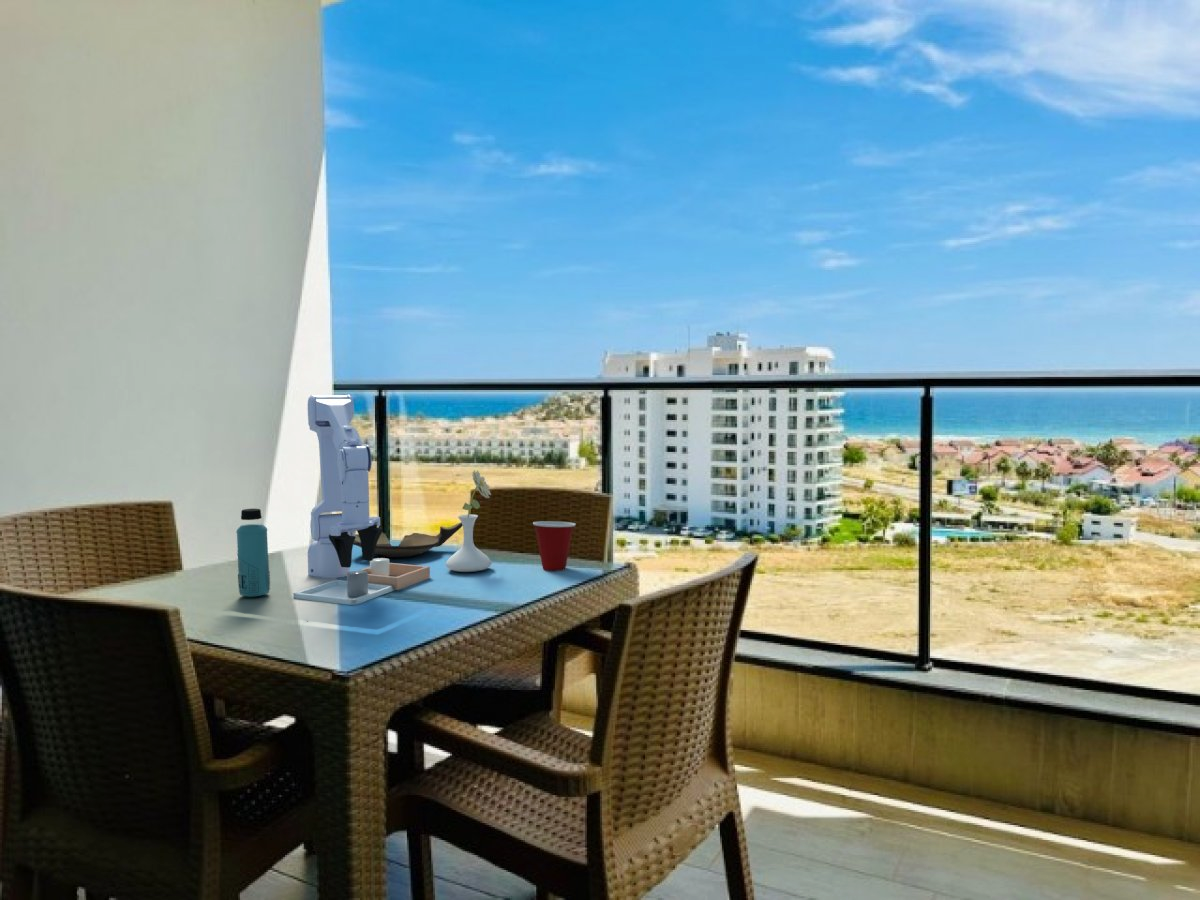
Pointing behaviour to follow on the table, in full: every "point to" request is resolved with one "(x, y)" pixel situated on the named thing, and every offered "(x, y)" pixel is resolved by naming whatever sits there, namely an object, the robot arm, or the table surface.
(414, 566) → the terracotta dish
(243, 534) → the beverage bottle
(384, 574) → the pale grey cylinder
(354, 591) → the grey plastic cylinder
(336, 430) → the robot arm
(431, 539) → the dark brown curved bowl
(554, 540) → the plastic cup
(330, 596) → the parts tray
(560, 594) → the table surface
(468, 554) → the flower in vase
